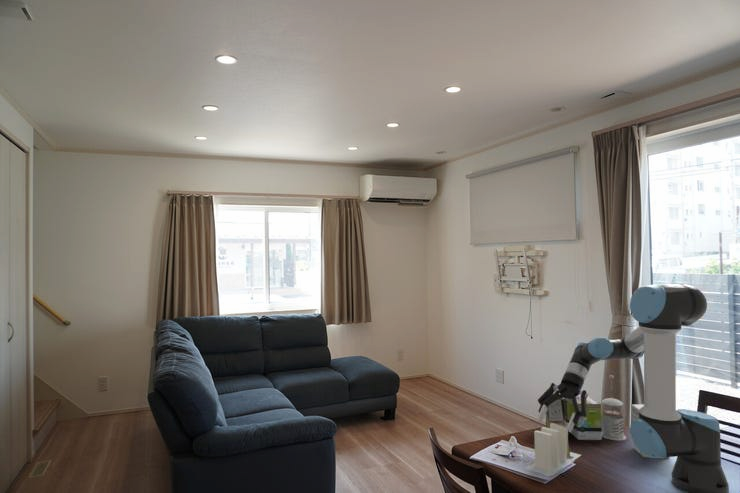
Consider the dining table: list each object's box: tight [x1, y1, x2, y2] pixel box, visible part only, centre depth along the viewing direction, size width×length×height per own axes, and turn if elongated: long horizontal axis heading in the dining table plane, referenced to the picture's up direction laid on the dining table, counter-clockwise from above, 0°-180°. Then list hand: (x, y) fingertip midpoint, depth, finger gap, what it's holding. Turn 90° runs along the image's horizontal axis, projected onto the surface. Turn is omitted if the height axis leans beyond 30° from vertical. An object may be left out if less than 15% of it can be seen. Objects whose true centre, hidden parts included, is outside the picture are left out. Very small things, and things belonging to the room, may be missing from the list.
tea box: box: [563, 394, 603, 441], centre depth 202 cm, size 15×10×15 cm
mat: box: [524, 451, 582, 477], centre depth 173 cm, size 25×9×1 cm, turn 133°
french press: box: [601, 374, 627, 441], centre depth 199 cm, size 10×12×25 cm
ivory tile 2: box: [540, 426, 560, 467], centre depth 171 cm, size 2×6×12 cm, turn 43°
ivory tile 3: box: [534, 429, 554, 471], centre depth 168 cm, size 2×6×12 cm, turn 43°
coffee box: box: [545, 393, 565, 428], centre depth 200 cm, size 9×6×16 cm
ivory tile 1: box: [550, 423, 569, 463], centre depth 174 cm, size 2×6×12 cm, turn 43°
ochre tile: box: [548, 422, 571, 458], centre depth 177 cm, size 2×6×12 cm, turn 43°
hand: (553, 425), depth 178 cm, fingers open, 11 cm apart
